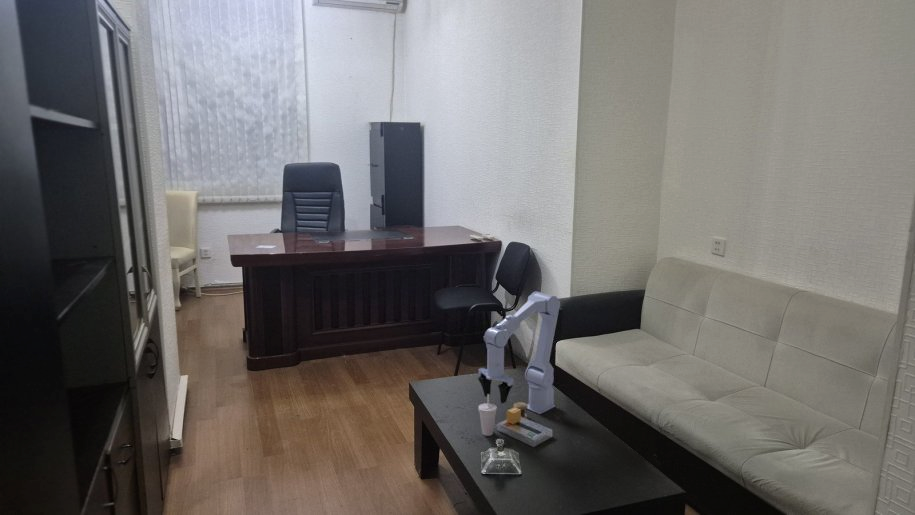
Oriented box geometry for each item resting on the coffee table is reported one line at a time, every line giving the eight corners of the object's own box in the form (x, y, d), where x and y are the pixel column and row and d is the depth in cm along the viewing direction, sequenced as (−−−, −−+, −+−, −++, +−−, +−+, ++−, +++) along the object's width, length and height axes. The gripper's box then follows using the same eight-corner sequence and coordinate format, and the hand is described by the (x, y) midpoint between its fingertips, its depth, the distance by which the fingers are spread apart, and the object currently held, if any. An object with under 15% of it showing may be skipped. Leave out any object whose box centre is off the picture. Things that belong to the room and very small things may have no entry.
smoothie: (498, 430, 206) (499, 392, 203) (493, 438, 200) (494, 400, 197) (481, 427, 208) (481, 390, 205) (475, 436, 202) (475, 397, 199)
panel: (516, 420, 213) (516, 414, 213) (552, 436, 202) (552, 429, 201) (497, 430, 206) (497, 423, 206) (533, 447, 195) (534, 439, 194)
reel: (519, 412, 220) (519, 401, 219) (530, 417, 216) (530, 405, 215) (510, 417, 216) (510, 405, 215) (521, 421, 213) (521, 409, 212)
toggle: (514, 417, 209) (514, 406, 209) (520, 420, 207) (520, 409, 206) (506, 421, 207) (506, 410, 206) (513, 424, 205) (513, 413, 204)
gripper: (472, 359, 207) (472, 396, 210) (503, 371, 197) (503, 409, 200) (486, 354, 212) (486, 390, 215) (517, 365, 202) (517, 402, 205)
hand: (495, 398), depth 207 cm, fingers open, 7 cm apart
